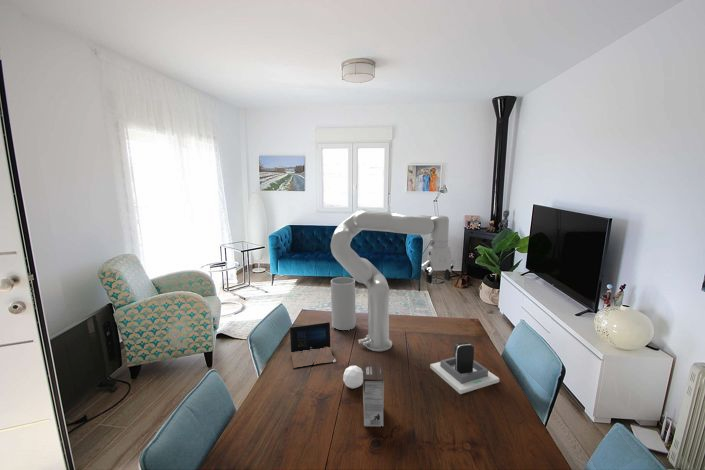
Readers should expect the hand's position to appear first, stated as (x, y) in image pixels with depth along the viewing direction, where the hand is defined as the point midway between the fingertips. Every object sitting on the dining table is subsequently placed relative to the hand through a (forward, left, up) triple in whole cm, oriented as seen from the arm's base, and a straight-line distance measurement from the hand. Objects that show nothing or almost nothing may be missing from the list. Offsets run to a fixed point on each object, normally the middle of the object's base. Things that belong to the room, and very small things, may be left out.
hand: (438, 281), depth 144 cm
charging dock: (-5, -24, -30) cm, 39 cm away
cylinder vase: (-33, +35, -31) cm, 57 cm away
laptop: (-56, +11, -31) cm, 65 cm away
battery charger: (-5, -24, -29) cm, 38 cm away
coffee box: (-47, -31, -31) cm, 64 cm away
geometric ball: (-47, -14, -31) cm, 58 cm away
